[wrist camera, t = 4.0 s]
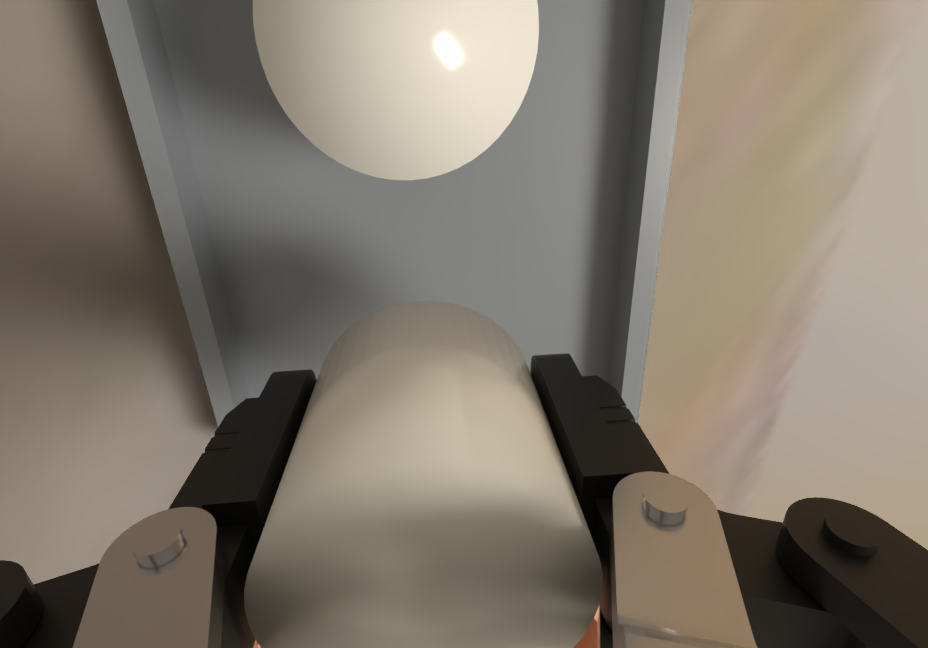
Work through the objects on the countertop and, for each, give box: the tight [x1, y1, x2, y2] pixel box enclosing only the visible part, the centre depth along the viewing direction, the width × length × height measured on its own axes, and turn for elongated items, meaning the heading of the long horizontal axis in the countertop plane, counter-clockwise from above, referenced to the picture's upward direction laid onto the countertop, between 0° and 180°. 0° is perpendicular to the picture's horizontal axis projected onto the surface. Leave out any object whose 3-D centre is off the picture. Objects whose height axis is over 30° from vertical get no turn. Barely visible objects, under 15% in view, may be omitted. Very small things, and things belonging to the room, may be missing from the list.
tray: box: [96, 0, 693, 427], centre depth 13 cm, size 15×12×2 cm
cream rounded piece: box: [253, 0, 539, 180], centre depth 10 cm, size 4×4×5 cm
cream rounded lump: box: [244, 301, 603, 648], centre depth 8 cm, size 4×4×5 cm
